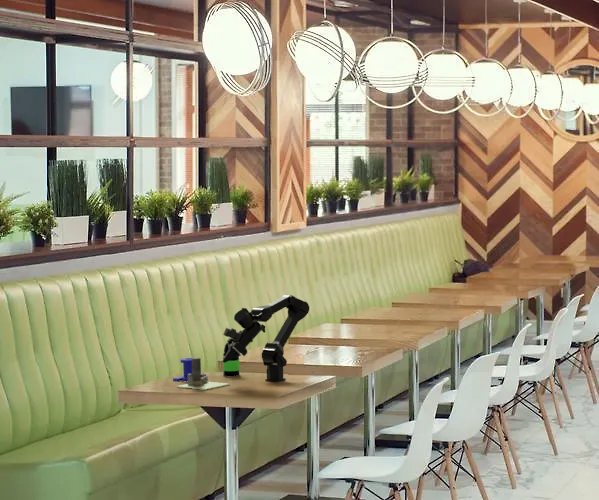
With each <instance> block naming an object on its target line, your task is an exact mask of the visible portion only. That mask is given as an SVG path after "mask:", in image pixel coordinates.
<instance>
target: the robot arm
mask: <svg viewBox="0 0 599 500" xmlns="http://www.w3.org/2000/svg"><path fill="white" fill-rule="evenodd" d="M282 309H287V317H286V319H285V320H284V322H283V324H282V325H281V327H280V329H279V331H278V333H277V334H276V336H275V338H274V340H273V341H272V342H266V343H265V345H264V347H263V348H262V352H261V359H262V363H263V365H264V366H266V378H265V379H264V380H265V381H268V382H281V381H285V380H287V379H286V378H285V377H284V367H286V366H287V363H288V360H287V359H286V358H285V357H284V354H285V353H284V352H285V351H284V347H285V346H286V343H287V342H288V340H289V338H290V337H291V335H292V333H293V332H294V330H295V328H296V327H297V324H298V323H299V322H300V321H302V320H303V319H305V318H306V316H307V315H308V314H309V311H310V305H309V303H308V301H304V300H302V299H299V298H297V297H296V296H294V295H292V294H283V295H282V296H280V297H279V298H277V299H275V300H273V301H271V302H270V303H268V304H266V305H261V306H256V307H253V308H252V309H251V310H250V311H249V310H248V309H247V307H242V308H241V309H240V310H238V311H237V312H236V313H234V318H233V319H234V322H236V323H237V324H238V325H239V326H240V327H241V328H242V329H243V330H239V331H237V329H236V328H235V329H234V328H228V327H225V329H224V332H223V334H222V335H223V336H225V337H227V338H228V339H227V341H226V343H229V344H230V345H229V344H228V348H229V349H228V352H227V353H226V355H225V357H224V359H223V358H222V363H223V362H224V363H225V362H227V361H230V360H232V359H234V358H236V357H238V356H239V357H240V356H243V357H245V356H246V355H247V354H248V349H247V347H248V346H249V345H250V344H251V343H253V342H254V339H255V338H256V337H257V336H258V335H259V334H260V332H263V333H265V334H266V325H264V324H263V323H267V322H268V321H269V320H270V319H271V318H272V317H273V315H274V314H275V313H277V312H279V311H281V310H282ZM261 322H262V324H261Z"/></svg>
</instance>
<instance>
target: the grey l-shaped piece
mask: <svg viewBox="0 0 599 500" xmlns="http://www.w3.org/2000/svg"><path fill="white" fill-rule="evenodd" d="M191 358H192V381H193V386H200V385H202V384H203V383H205V382H209V381H208V380H209V379H208V378H209V377H208V376H207V375H206V376H203V377H201V374H202V366H201V365H202V363H201V362H202V361H201V358H202V357H191Z"/></svg>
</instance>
